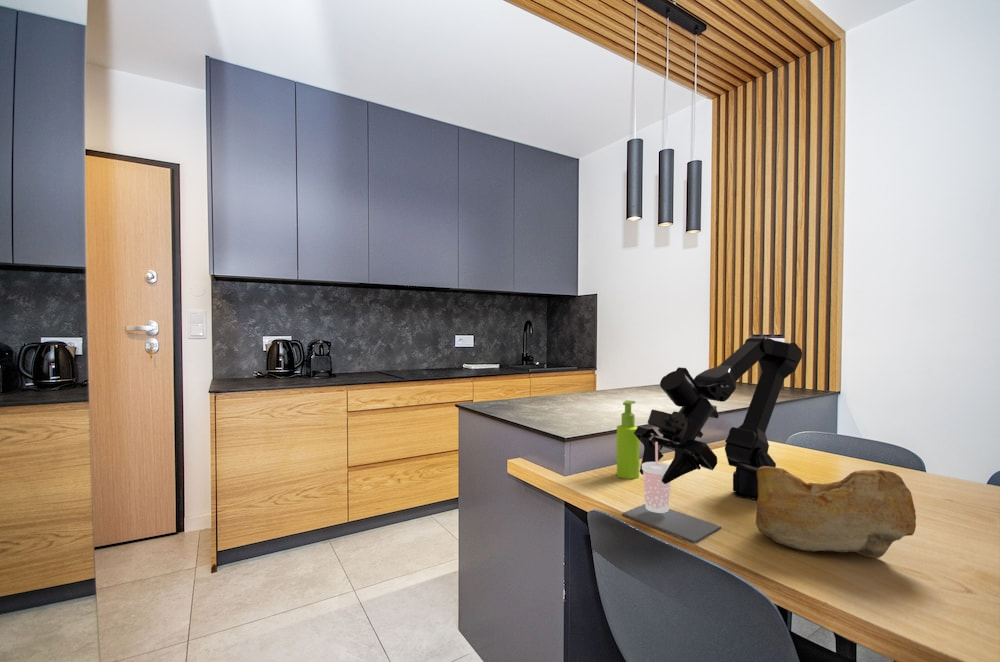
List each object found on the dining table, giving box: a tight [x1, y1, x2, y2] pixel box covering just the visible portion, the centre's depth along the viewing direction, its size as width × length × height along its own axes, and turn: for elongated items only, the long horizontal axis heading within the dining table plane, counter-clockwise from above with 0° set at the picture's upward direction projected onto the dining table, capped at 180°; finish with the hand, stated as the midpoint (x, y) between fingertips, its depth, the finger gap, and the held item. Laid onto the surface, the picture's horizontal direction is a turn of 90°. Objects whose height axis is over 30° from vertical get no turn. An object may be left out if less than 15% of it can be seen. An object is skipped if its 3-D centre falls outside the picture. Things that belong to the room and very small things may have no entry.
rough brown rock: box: [755, 466, 917, 559], centre depth 83 cm, size 23×17×15 cm
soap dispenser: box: [616, 400, 640, 480], centre depth 120 cm, size 6×7×20 cm
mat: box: [622, 503, 722, 544], centre depth 91 cm, size 16×10×1 cm, turn 38°
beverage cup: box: [642, 442, 671, 513], centre depth 93 cm, size 6×6×14 cm
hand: (651, 477), depth 93 cm, fingers closed on beverage cup, 6 cm apart
